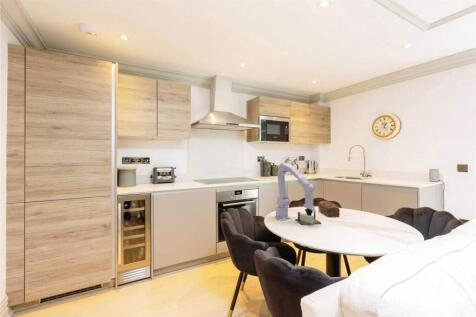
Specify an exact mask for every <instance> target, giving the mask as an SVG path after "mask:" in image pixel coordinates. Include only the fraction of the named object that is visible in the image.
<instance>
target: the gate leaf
mask: <svg viewBox="0 0 476 317" xmlns="http://www.w3.org/2000/svg"><path fill="white" fill-rule="evenodd" d="M313 218H314V215H311V216H310V215H307V214H306V213H301V212H300V220H301V221H305V222H308V223H311V225H314V224H313Z"/></svg>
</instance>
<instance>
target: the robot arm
mask: <svg viewBox="0 0 476 317" xmlns="http://www.w3.org/2000/svg"><path fill="white" fill-rule="evenodd" d="M277 168H278V169H277V172H276V173H277V183H278V193H279V194H278V196H277V201H276V205H277V206H276V207H275V217H276V218H277V219H278V220H283V219H284V220H285V219H291V217H290V216H289V205H290V202H291V201H290V199H289V196H288V194H287V189H286V180H285V178H286V177H285V175H286V174H287V173H290V174H291V175H293V176H294V177H295V179H297V183H298V184H299V185H300V186H301V187H302V188H303V191H304V203H303V207H304V208H305V209H304V212H305V214H306V215H310V216H313V215H312V214H313V213H314V212H315V211H316V208H315V205H314V191H315V185H314V183H311V182H310V181H308V180H307V177H305V176H304V175H303V176H302V175H300V173H299V172H298V171H297V169H295V167H294V166H293V165H292V164H291V163H290V162H282V163H279V165H278V166H277Z"/></svg>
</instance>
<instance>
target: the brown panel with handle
mask: <svg viewBox="0 0 476 317" xmlns="http://www.w3.org/2000/svg"><path fill="white" fill-rule="evenodd" d="M300 213H301V212H300V211H297V218H294V221H296V222H297V223H298V224H299V225H301V226H311V225H322V222H321V221H319V220H318V219H316V216H317V215H316V210H315V212H313V224H311V223H308V222H305V221H301V220H300Z"/></svg>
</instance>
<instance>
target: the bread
mask: <svg viewBox="0 0 476 317" xmlns="http://www.w3.org/2000/svg"><path fill="white" fill-rule="evenodd" d="M340 211H341V210H340V207H338V205H337V204H334V202H331V201H327V200H321V201H319V202H318V212H319V213H321V214H323V216H325V217H327V218H333V217H334V218H339V217H340Z"/></svg>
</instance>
